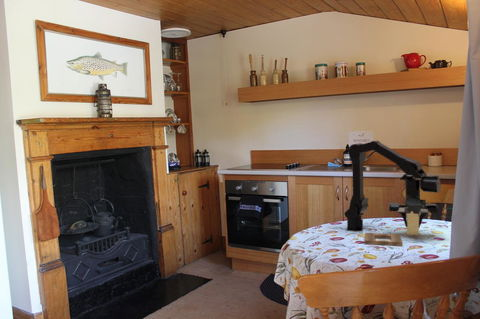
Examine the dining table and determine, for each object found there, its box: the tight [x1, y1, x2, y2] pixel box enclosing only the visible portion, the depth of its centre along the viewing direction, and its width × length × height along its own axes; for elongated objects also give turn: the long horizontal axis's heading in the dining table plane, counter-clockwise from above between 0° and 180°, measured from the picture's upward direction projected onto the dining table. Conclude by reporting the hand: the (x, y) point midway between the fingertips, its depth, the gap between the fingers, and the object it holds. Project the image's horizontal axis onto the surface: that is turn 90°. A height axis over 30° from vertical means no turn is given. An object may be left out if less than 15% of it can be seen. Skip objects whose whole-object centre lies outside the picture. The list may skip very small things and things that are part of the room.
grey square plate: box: [402, 232, 423, 239], centre depth 172 cm, size 7×8×1 cm
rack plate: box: [364, 232, 403, 250], centre depth 165 cm, size 14×12×3 cm
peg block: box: [406, 213, 420, 235], centre depth 171 cm, size 4×4×8 cm
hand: (412, 227), depth 171 cm, fingers closed on peg block, 4 cm apart
